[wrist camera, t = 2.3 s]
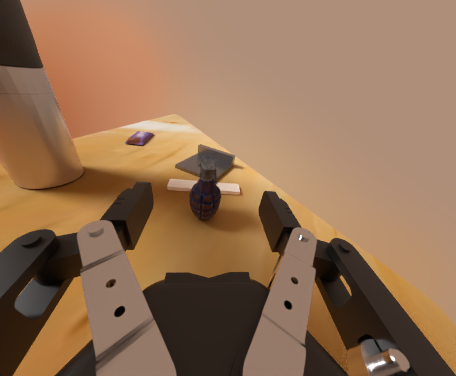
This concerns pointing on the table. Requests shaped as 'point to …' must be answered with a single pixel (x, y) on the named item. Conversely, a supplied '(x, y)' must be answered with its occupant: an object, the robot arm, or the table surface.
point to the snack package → (139, 138)
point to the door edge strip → (188, 184)
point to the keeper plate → (220, 159)
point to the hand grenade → (205, 191)
